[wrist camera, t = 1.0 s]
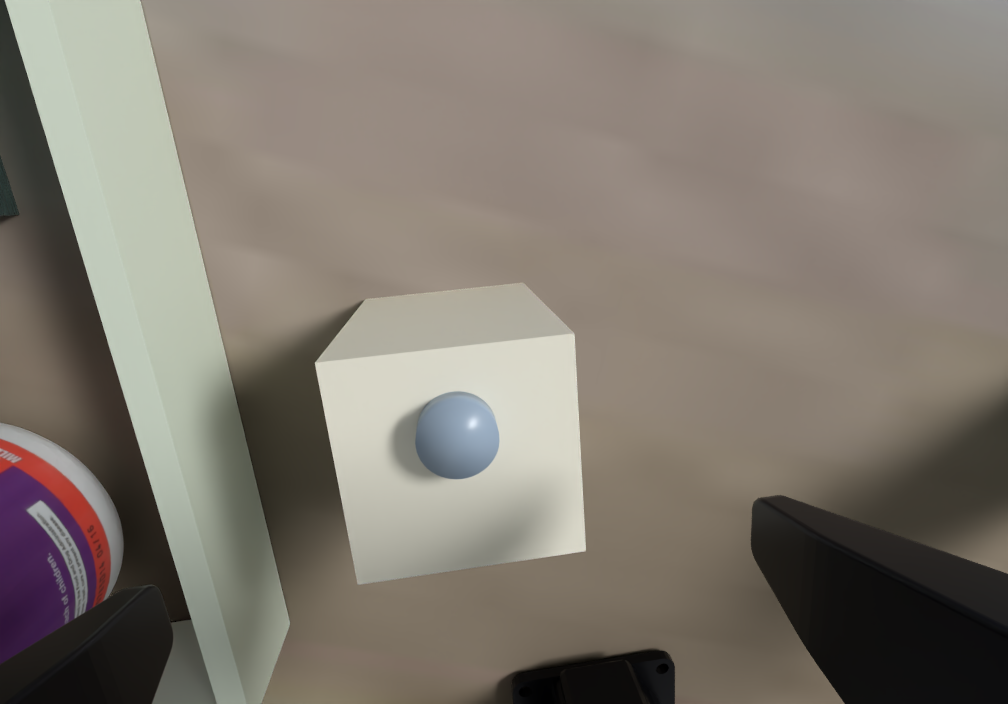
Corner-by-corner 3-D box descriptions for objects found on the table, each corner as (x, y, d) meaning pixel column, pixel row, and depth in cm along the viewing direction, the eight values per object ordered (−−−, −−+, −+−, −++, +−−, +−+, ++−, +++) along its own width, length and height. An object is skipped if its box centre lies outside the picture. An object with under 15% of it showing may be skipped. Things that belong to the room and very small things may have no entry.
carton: (534, 425, 19) (593, 568, 11) (388, 444, 18) (353, 604, 11) (523, 282, 17) (582, 341, 10) (365, 299, 17) (307, 372, 10)
